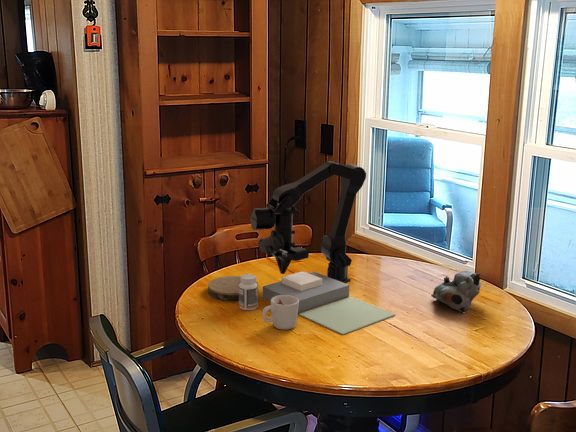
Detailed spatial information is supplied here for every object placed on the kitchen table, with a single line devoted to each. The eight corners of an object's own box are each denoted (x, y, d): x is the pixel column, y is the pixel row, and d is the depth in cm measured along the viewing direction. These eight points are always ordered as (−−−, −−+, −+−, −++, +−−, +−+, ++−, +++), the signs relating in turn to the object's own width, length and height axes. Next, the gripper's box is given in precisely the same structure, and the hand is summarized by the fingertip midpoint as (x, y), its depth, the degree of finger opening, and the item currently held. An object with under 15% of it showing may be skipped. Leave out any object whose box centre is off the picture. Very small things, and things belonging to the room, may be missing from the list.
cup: (268, 336, 190) (269, 308, 188) (256, 325, 196) (256, 298, 194) (303, 329, 194) (304, 302, 192) (290, 318, 201) (290, 293, 199)
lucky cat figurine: (431, 295, 221) (453, 257, 220) (465, 315, 218) (487, 277, 217) (428, 298, 207) (451, 258, 205) (464, 320, 204) (488, 279, 202)
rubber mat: (351, 297, 218) (351, 296, 218) (395, 315, 205) (395, 314, 205) (299, 315, 204) (299, 313, 204) (343, 335, 191) (343, 333, 191)
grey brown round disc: (259, 285, 229) (259, 276, 228) (256, 303, 213) (256, 294, 212) (211, 283, 229) (211, 275, 228) (204, 301, 214) (204, 292, 213)
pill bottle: (259, 304, 212) (259, 273, 209) (256, 311, 206) (256, 280, 204) (240, 303, 212) (240, 272, 210) (237, 310, 207) (237, 279, 204)
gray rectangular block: (314, 283, 230) (314, 271, 229) (348, 296, 219) (349, 285, 218) (262, 298, 216) (262, 286, 215) (296, 314, 205) (297, 301, 204)
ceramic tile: (302, 277, 224) (303, 271, 224) (322, 284, 218) (322, 278, 217) (281, 283, 218) (281, 277, 218) (301, 291, 212) (301, 284, 211)
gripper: (245, 225, 222) (245, 271, 226) (283, 238, 209) (282, 287, 213) (272, 219, 229) (271, 264, 233) (310, 232, 216) (309, 279, 220)
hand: (282, 273), depth 225 cm, fingers closed
